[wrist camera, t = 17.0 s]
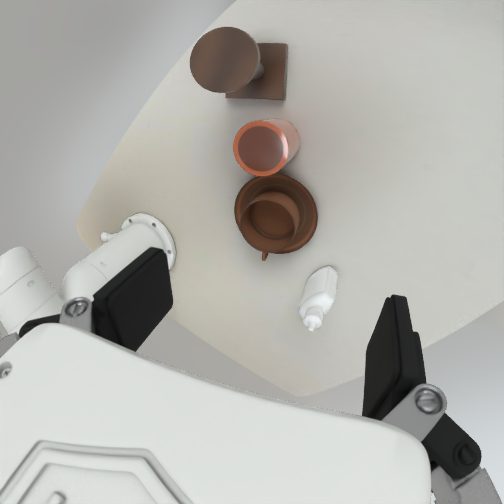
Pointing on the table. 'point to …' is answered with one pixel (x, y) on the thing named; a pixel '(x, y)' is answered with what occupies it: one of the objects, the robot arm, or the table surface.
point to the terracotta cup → (265, 146)
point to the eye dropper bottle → (318, 297)
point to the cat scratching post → (240, 65)
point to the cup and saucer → (275, 214)
